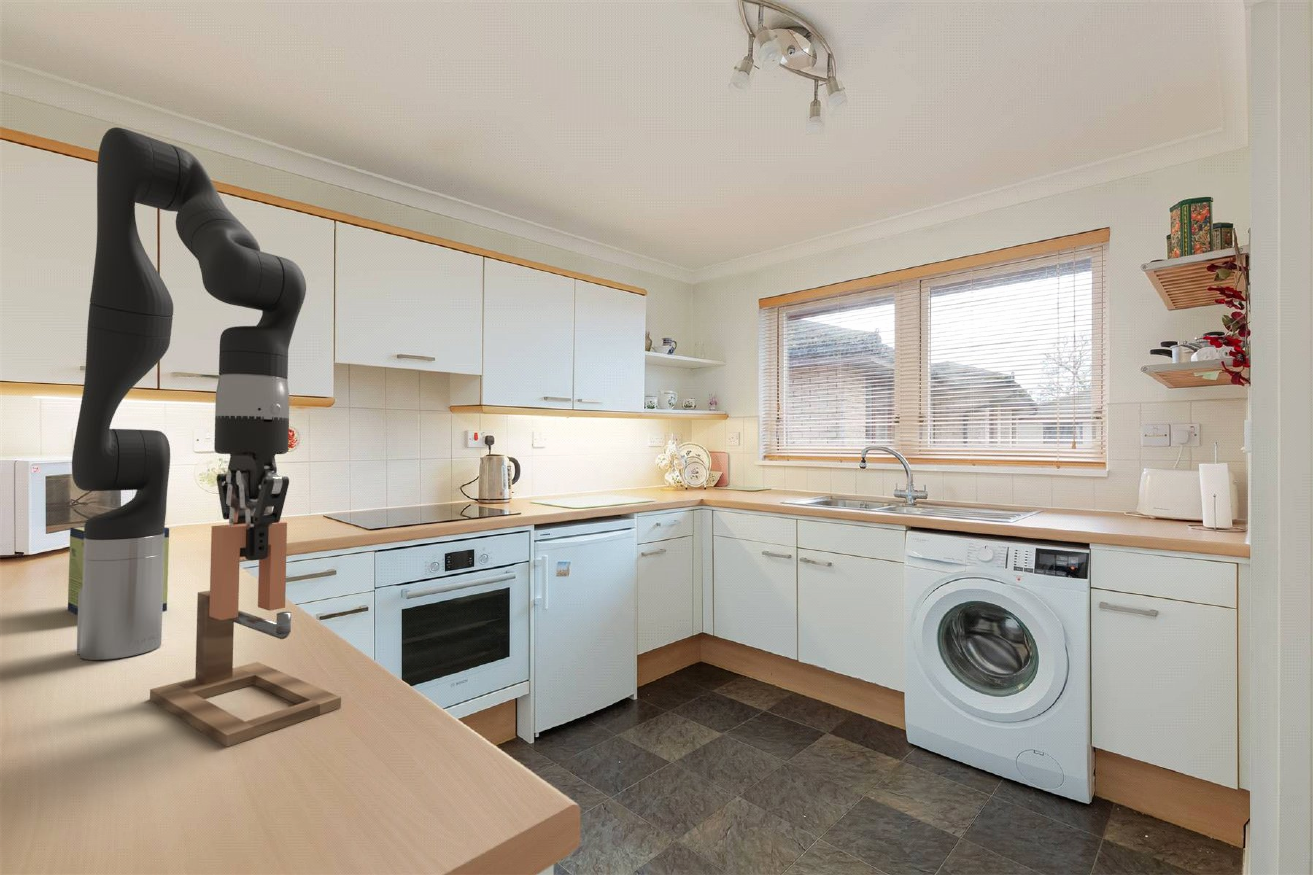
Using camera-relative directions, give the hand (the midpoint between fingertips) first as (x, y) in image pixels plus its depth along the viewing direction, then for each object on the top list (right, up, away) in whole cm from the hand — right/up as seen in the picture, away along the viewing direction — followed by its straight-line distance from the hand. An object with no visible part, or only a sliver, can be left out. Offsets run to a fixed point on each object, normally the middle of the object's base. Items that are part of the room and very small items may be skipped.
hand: (249, 557), depth 75 cm
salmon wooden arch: (0, -7, 0) cm, 7 cm away
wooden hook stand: (-1, -18, 0) cm, 18 cm away
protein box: (-51, -18, +41) cm, 68 cm away
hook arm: (+1, -8, -1) cm, 8 cm away
